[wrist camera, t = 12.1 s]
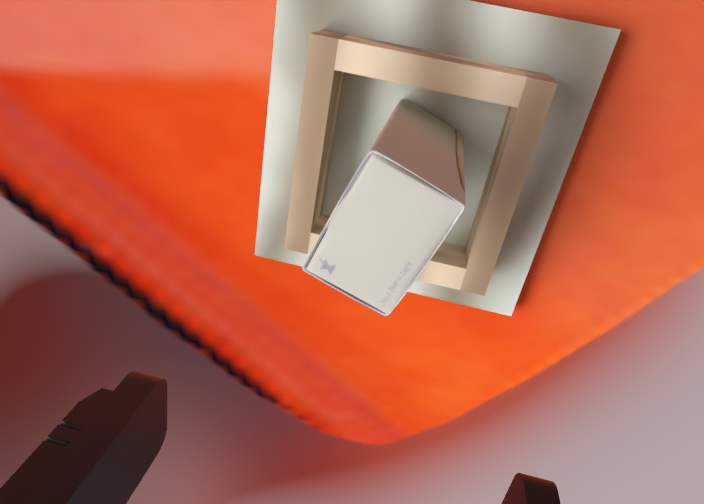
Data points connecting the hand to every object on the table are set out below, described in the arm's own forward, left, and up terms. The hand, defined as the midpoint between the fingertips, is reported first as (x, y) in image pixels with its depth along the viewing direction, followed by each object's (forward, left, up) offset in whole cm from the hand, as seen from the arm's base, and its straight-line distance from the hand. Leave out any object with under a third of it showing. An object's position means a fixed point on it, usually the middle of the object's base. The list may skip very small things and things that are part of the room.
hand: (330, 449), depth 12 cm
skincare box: (0, 0, -22) cm, 23 cm away
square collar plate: (0, 0, -24) cm, 24 cm away
